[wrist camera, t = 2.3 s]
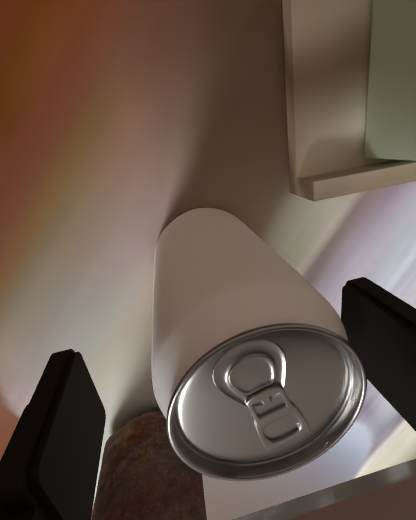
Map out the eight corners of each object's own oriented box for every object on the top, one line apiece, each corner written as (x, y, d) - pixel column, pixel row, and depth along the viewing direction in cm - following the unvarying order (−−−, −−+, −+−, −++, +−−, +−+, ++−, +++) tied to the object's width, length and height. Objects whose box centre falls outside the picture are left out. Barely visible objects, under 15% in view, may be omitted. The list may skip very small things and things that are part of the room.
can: (229, 187, 17) (353, 262, 6) (266, 272, 20) (399, 430, 9) (134, 235, 17) (95, 391, 6) (183, 314, 20) (214, 519, 9)
